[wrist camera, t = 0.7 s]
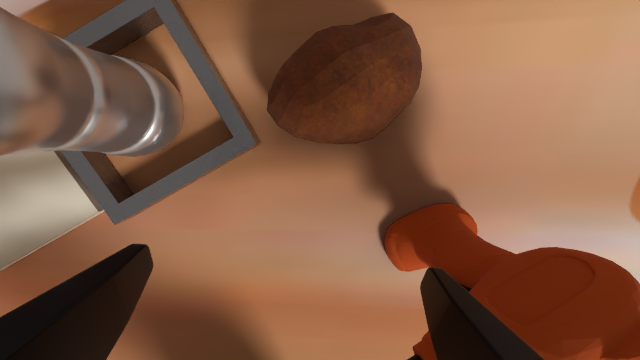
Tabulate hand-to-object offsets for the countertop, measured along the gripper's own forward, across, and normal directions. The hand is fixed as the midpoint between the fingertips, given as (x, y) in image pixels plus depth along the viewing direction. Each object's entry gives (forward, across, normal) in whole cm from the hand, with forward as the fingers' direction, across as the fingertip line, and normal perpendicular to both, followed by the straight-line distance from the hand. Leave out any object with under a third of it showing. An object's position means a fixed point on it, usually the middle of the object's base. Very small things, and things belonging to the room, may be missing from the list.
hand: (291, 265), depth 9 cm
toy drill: (+11, -7, +10) cm, 17 cm away
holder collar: (+15, +12, 0) cm, 19 cm away
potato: (+16, -3, -2) cm, 16 cm away
